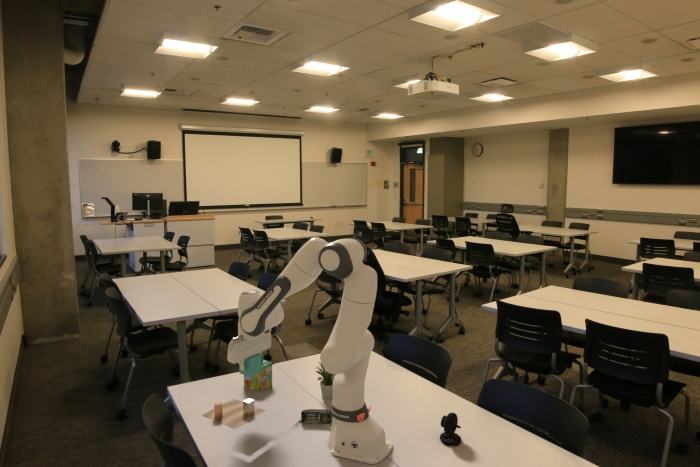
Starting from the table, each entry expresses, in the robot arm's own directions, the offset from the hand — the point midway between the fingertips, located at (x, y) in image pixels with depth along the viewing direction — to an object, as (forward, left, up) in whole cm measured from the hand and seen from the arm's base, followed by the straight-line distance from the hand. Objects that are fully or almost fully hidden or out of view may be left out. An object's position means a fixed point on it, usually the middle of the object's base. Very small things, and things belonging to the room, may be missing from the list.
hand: (250, 366), depth 172 cm
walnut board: (+5, +4, -20) cm, 21 cm away
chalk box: (+14, -19, -20) cm, 32 cm away
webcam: (-72, -25, -20) cm, 78 cm away
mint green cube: (0, 0, -2) cm, 2 cm away
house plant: (-17, -28, -20) cm, 39 cm away
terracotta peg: (+8, +9, -19) cm, 22 cm away
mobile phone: (-26, -11, -21) cm, 35 cm away
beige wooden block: (0, +1, -19) cm, 19 cm away
